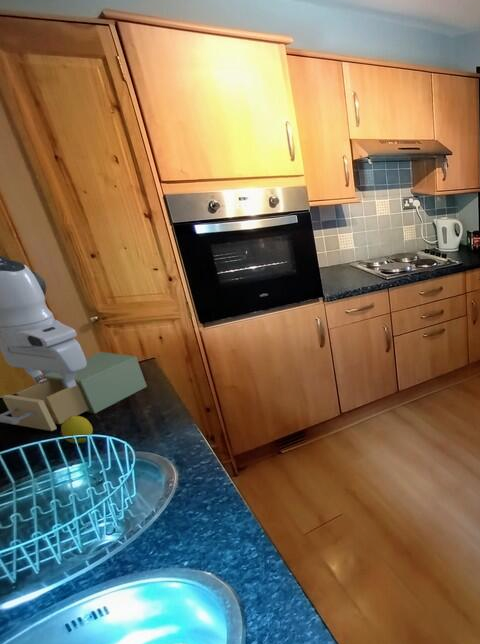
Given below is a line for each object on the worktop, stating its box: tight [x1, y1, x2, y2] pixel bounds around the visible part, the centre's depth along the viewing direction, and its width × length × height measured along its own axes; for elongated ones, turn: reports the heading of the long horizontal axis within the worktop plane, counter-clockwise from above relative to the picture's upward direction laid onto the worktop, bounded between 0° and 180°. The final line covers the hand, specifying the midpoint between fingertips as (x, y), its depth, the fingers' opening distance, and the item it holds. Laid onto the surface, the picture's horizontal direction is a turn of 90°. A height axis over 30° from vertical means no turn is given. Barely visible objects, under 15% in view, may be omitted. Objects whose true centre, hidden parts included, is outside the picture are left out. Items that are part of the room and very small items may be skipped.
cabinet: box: [44, 351, 148, 414], centre depth 133 cm, size 16×14×11 cm
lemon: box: [60, 415, 94, 444], centre depth 113 cm, size 6×6×8 cm
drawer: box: [0, 379, 91, 432], centre depth 122 cm, size 20×12×9 cm, turn 167°
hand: (56, 384), depth 108 cm, fingers open, 8 cm apart
